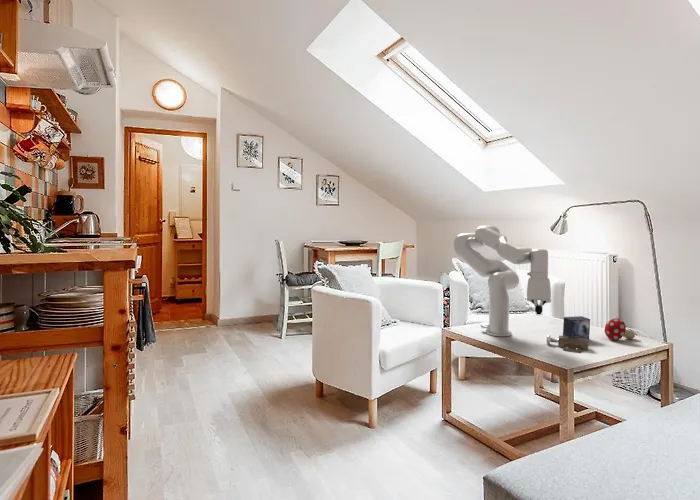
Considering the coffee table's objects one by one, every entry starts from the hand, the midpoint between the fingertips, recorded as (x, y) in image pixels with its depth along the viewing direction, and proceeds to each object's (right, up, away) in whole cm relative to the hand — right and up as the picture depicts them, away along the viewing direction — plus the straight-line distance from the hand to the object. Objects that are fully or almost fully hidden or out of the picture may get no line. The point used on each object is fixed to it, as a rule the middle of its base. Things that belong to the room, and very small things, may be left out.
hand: (538, 313), depth 214 cm
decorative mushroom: (+43, -14, +6) cm, 45 cm away
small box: (+22, -14, +8) cm, 27 cm away
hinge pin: (+10, -14, -5) cm, 18 cm away
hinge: (+13, -14, -6) cm, 21 cm away
